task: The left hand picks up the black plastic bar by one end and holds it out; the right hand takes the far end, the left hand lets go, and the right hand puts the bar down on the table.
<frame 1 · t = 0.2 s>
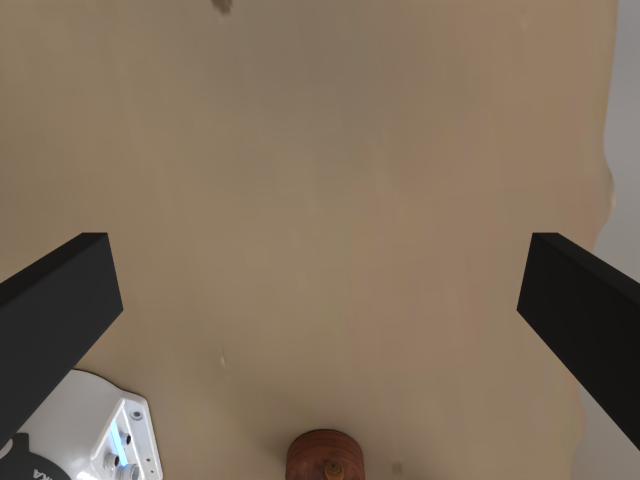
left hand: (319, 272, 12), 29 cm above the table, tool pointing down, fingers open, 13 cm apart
brown bird figurine: (324, 461, 55), on the table
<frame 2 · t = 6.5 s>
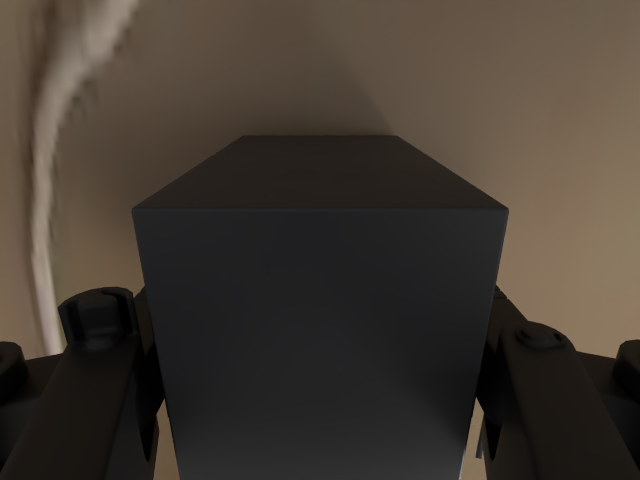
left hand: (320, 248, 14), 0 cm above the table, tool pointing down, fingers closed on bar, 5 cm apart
bar: (320, 443, 18), on the table, touching left hand
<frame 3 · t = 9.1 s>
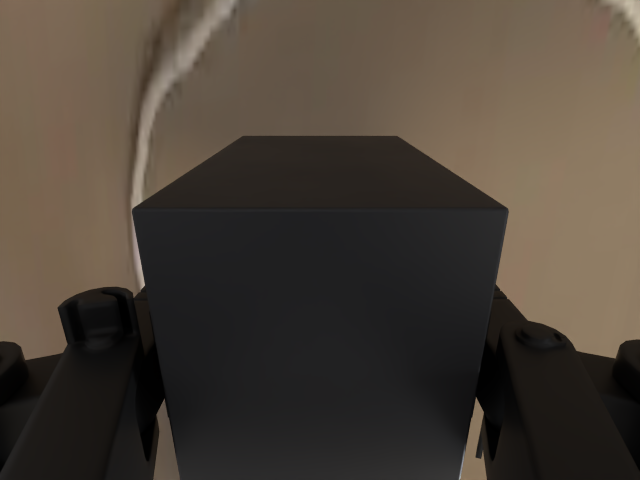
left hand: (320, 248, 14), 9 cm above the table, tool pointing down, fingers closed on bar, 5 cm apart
bar: (320, 443, 18), point 9 cm above the table, touching left hand
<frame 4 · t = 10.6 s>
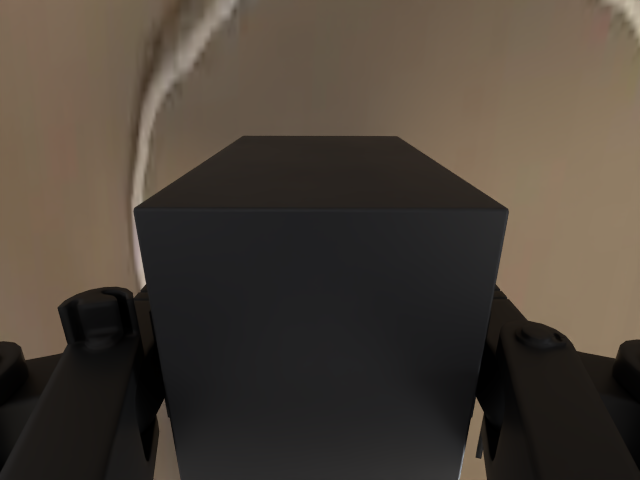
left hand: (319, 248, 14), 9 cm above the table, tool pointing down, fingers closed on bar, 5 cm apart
bar: (319, 443, 18), point 9 cm above the table, touching left hand, right hand
when the left hand's fingers open (9 cm above the table, at t = 11.6 s): bar stays where it is, held by the right hand.
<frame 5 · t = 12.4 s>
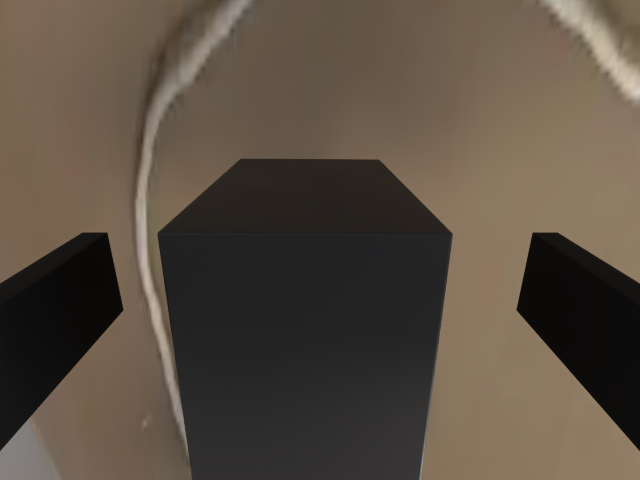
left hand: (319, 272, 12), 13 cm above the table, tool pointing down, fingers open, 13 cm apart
bar: (310, 440, 20), point 9 cm above the table, touching right hand
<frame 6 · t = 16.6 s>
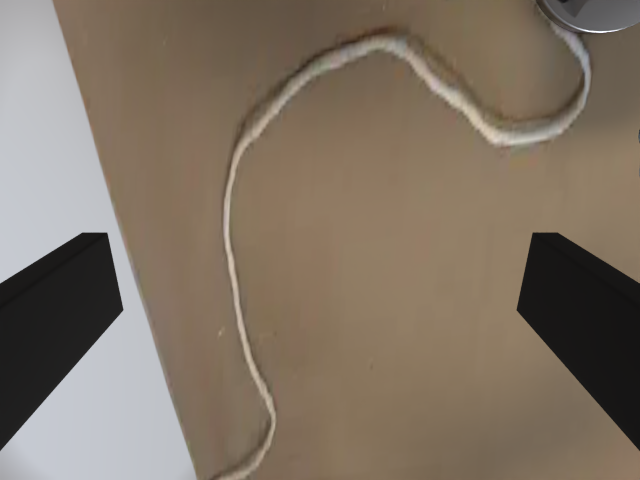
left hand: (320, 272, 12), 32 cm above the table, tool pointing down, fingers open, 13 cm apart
when the right hand's fingers open (4 cm above the table, at t = 22.8 s): bar stays where it is, on the table.
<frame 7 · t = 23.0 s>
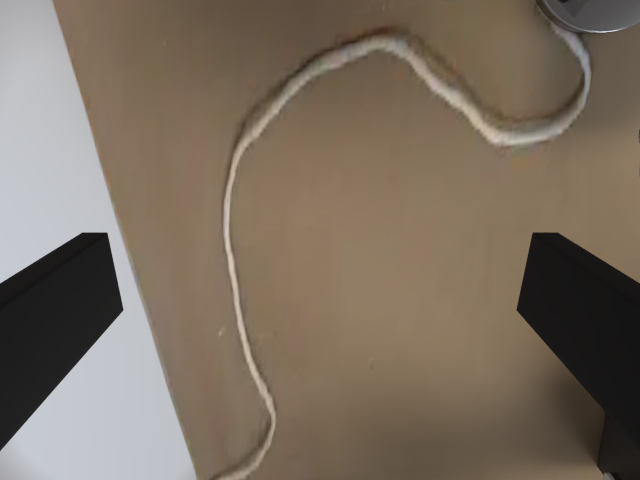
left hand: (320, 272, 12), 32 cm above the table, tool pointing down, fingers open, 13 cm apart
bar: (628, 393, 55), on the table
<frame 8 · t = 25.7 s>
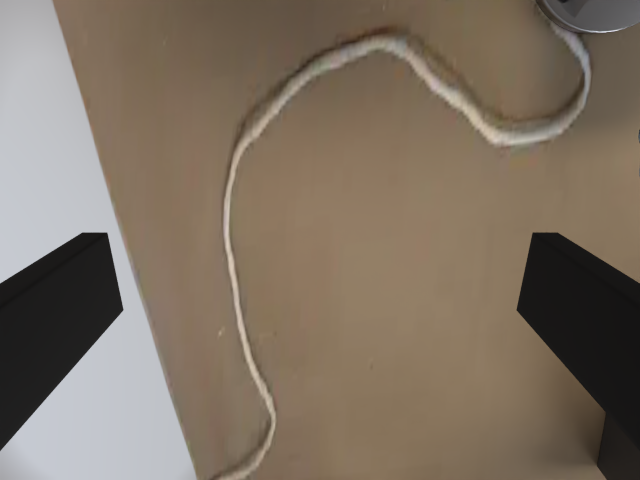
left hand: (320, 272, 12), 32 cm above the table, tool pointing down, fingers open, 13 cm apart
bar: (628, 393, 55), on the table
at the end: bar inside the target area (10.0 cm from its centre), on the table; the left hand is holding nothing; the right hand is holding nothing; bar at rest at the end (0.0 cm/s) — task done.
